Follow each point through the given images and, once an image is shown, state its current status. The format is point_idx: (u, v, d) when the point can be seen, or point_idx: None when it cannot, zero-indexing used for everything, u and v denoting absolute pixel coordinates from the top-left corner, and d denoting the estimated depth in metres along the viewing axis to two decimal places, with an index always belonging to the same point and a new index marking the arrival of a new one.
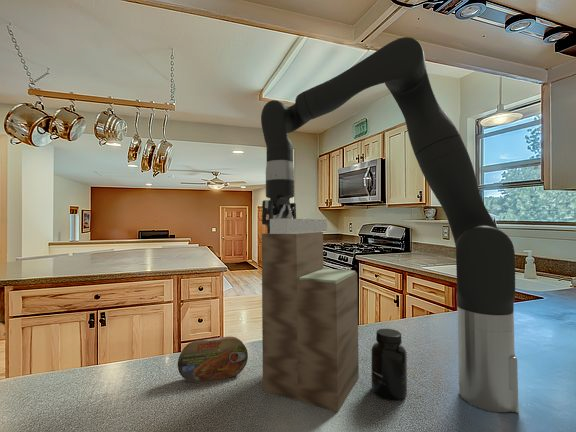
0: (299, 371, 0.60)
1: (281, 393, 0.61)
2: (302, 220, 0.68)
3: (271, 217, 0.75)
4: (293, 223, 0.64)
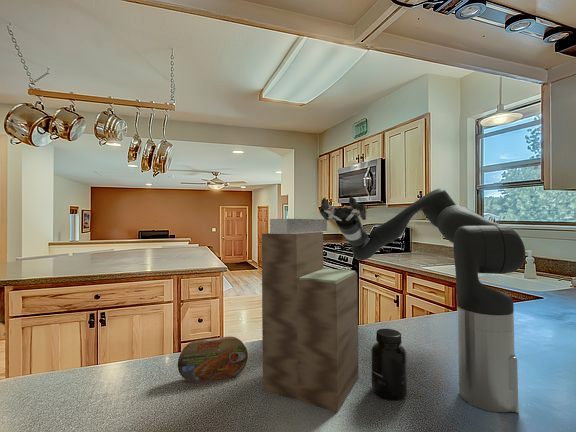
0: (299, 371, 0.60)
1: (281, 393, 0.61)
2: (302, 220, 0.68)
3: (362, 213, 0.96)
4: (293, 223, 0.64)
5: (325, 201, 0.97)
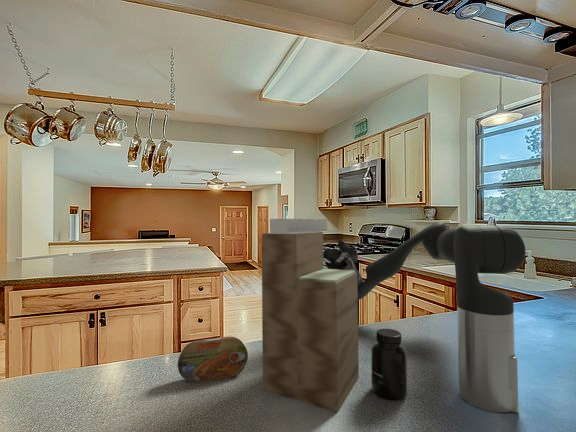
0: (299, 371, 0.60)
1: (281, 393, 0.61)
2: (302, 220, 0.68)
3: (352, 256, 0.87)
4: (293, 223, 0.64)
5: None
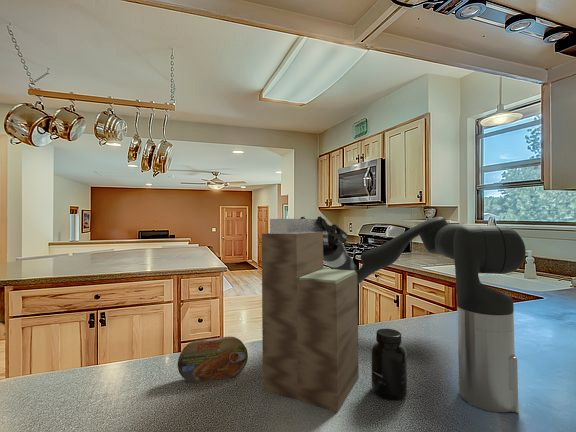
0: (299, 371, 0.60)
1: (281, 393, 0.61)
2: (302, 220, 0.68)
3: (335, 235, 0.78)
4: (293, 223, 0.64)
5: None
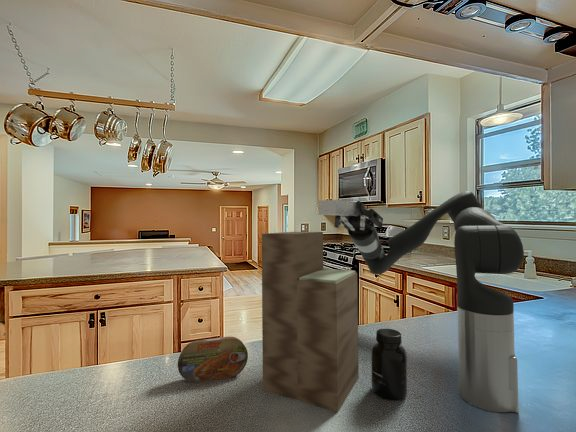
0: (299, 371, 0.60)
1: (281, 393, 0.61)
2: (346, 203, 0.71)
3: (373, 219, 0.81)
4: (340, 204, 0.67)
5: None
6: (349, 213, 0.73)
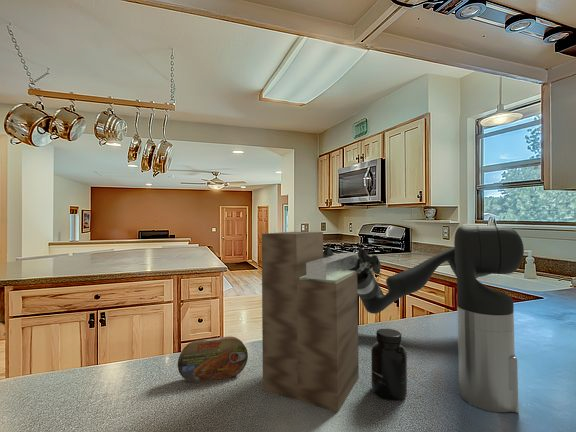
0: (299, 371, 0.60)
1: (281, 393, 0.61)
2: (338, 261, 0.64)
3: (375, 267, 0.74)
4: (331, 266, 0.60)
5: (328, 251, 0.75)
6: (341, 271, 0.66)
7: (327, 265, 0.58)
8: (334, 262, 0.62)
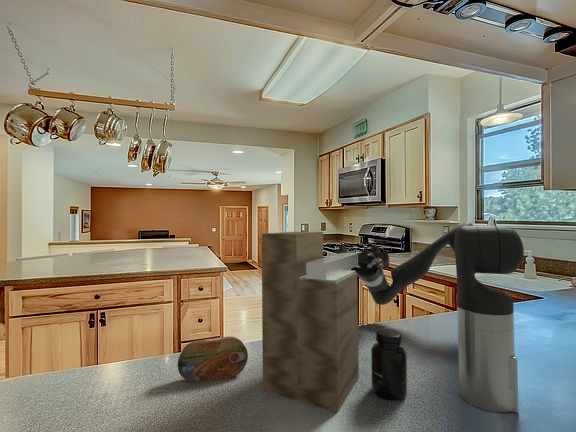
0: (299, 371, 0.60)
1: (281, 393, 0.61)
2: (338, 261, 0.64)
3: (385, 262, 0.85)
4: (331, 266, 0.60)
5: (343, 248, 0.86)
6: (341, 271, 0.66)
7: (327, 265, 0.58)
8: (334, 262, 0.62)
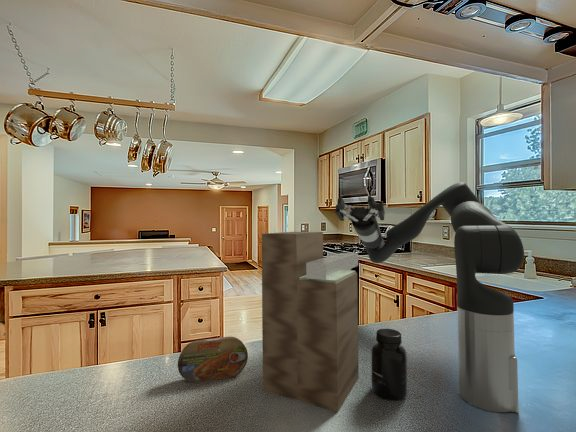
0: (299, 371, 0.60)
1: (281, 393, 0.61)
2: (338, 261, 0.64)
3: (381, 213, 0.90)
4: (331, 266, 0.60)
5: (341, 200, 0.92)
6: (341, 271, 0.66)
7: (327, 265, 0.58)
8: (334, 262, 0.62)
